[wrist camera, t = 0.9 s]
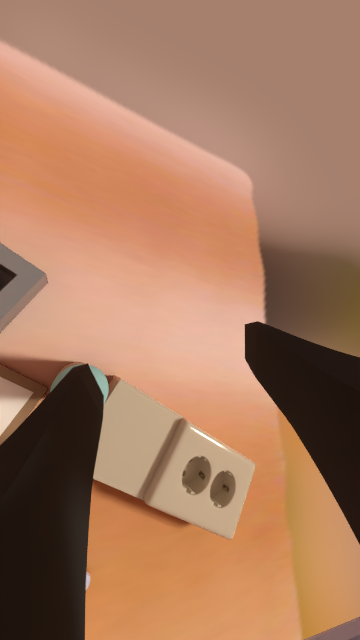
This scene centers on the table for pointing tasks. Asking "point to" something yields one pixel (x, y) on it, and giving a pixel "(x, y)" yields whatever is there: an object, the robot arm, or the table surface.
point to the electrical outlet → (170, 462)
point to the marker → (96, 372)
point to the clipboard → (16, 400)
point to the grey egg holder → (17, 284)
